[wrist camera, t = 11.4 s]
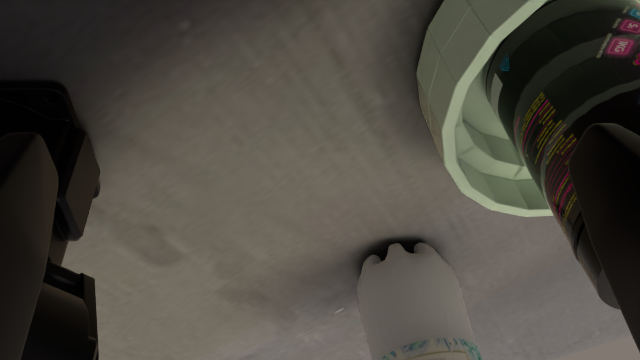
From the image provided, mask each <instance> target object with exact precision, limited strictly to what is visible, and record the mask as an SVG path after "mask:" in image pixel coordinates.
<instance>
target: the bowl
mask: <svg viewBox="0 0 640 360" xmlns="http://www.w3.org/2000/svg"><path fill="white" fill-rule="evenodd" d="M546 1H547V0H444V1H443V3H442V5H441V6H440V8H439V10H438V11H437V13H436V15H435V16H434V18H433V20H432V22H431V23H430V25H429V27H428V30H427V31H426V35H425V39H424V44H423V48H422V52H421V56H420V60H419V64H418V68H417V73H416V76H417V84H418V92H419V100H420V108H421V110H422V113H423V115H424V118H425V120H426V123H427V125H428V127H429V130H430V132H431V135H432V137H433V139H434V142H435V144H436V147H437V149H438V151H439V154H440V156H441V159H442V161H443V163H444V166H445V168H446V169H447V171H448V172H449V174H450V176H451V177H452V179H453V180H454V182H455V183H456V185H457V187H458V188H459V190H460V191H461V192H462V193H463V194H464V195H466V196H468V197H469V198H471V199H472V200H474V201H476V202H477V203H479V204H481V205H482V206H484V207H485V208H487V209H489V210H493V211H498V212H503V213H507V214H512V215H517V216H522V217H523V216H524V217H533V216H554V215H553V213H552V212H551V210H550V208H549V206H548V205H547V203H546V201H545V199H544V198H543V196H542V194H541V193H540V191H539V189H538V187H537V186H536V184H535V182H534V180H533V179H532V177H531V175H530V174H529V172H528V170H527V168H526V167H525V165H524V163H523V161H522V160H521V158H520V156H519V154H518V153H517V151H516V149H515V148H514V146H513V144H512V142H511V141H510V139H509V137H508V135H507V134H506V132H505V130H504V129H503V127H502V125H501V123H500V122H499V120H498V118H497V116H496V115H495V113H494V111H493V110H492V108H491V106H490V104H489V102H488V100H487V97H486V92H485V73H486V68H487V64H488V61H489V58H490V56H491V55H492V53H493V52H494V51H495V49H496V48H497V46H498V45H499V44H500V42H501V41H502V40H503V39H504V38H505V37H507V36H508V35H509V34H510V33H511V32H512V31H513V30H515V29H516V28H517V27H518V26H519V25H520V24H521V23H522V22H524V21H525V20H526V19H527V18H528V17H529V16H530V15H532V14H533V13H534V12H535V11H536V10H537V9H538V8H539V7H541V6H542V5H543V4H544V3H545V2H546ZM636 1H637V2H639V3H640V0H636Z"/></svg>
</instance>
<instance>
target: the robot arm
mask: <svg viewBox="0 0 640 360" xmlns="http://www.w3.org/2000/svg"><path fill="white" fill-rule="evenodd" d="M49 94H54V95H56V96H58V98H53V97H51V96H50V95H49ZM568 171H569V175H570V178H571V181H572V184H573V187H574V190H575V194H576V197H577V200H578V203H579V206H580V209H581V212H582V216H583V219H584V222H585V225H586V228H587V231H588V234H589V237H590V240H591V243H592V245H593V248H594V250H595V253H596V255H597V257H598V260H599V262H600V264H601V266H602V269H603V271H604V273H605V275H606V278H607V280H608V282H609V284H610V287H611V289H612V291H613V293H614V296H615V298H616V300H617V302H618V305H619V307H620V309H621V311H622V314H623V316H624V318H625V320H626V323H627V325H628V327H629V329H630V332H631V334H632V336H633V338H634V341H635V343H636V345H637V347H638V350H639V352H640V136H638V135H637V134H635V133H633V132H631V131H629V130H627V129H625V128H624V127H622V126H620V125H618V124H614V123H596V124H592V125H590V126H589V127H588V128H587V129H586V130H585V132H584V133H583V135H582V137H581V139H580V140H579V142H578V144H577V145H576V147H575V149H574V151H573V152H572V154H571V156H570V158H569V161H568ZM99 174H100V169H99V166H98V163H97V160H96V157H95V154H94V152H93V149H92V146H91V143H90V140H89V137H88V134H87V132H86V131H85V130H84V129H83V128H80V126H79V124H78V121H77V118H76V115H75V112H74V109H73V106H72V103H71V101H70V98H69V95H68V92H67V91H66V89H65V88H64V87H62V86H61V85H59V84H56V83H0V360H98V358H99V352H98V334H97V316H96V297H95V280H94V278H92V277H89V276H87V275H85V274H83V273H81V274H77V273H75V272H73V271H71V270H68V269H66V268H64V267H62V266H61V264H62V261H63V258H64V254H65V251H66V248H67V244H68V241H78V240H79V239H80V238H81V237H82V235H83V232H84V228H85V225H86V221H87V217H88V214H89V210H90V207H91V203H92V199H93V198H96V197H97V196H98V195H99V191H100V184H99V181H98V178H99Z"/></svg>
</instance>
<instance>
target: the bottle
mask: <svg viewBox="0 0 640 360" xmlns="http://www.w3.org/2000/svg"><path fill="white" fill-rule="evenodd" d="M357 297H358V304H359V311H360V314H361V318H362V322H363V326H364V330H365V334H366V337H367V341H368V345H369V348H370V352H371V356H372V360H482V358H481V355H480V352H479V350H478V347H477V344H476V342H475V339H474V336H473V332H472V329H471V325H470V321H469V318H468V314H467V310H466V306H465V302H464V299H463V295H462V292H461V289H460V286H459V283H458V280H457V277H456V275H455V273H454V271H453V268H452V267H451V265H450V264H449V262H448V261H447V260H446V259H445V258H444V257H443V256H441V255H439V254H438V253H437V252H436V251H435V250H434V249H433V248H432V247H431V246H429V245H427V244H425V243H418V244H416V245H415V246H414V253H412V254H411V253H408V252H406V251H405V250H404V248H403V247H402V246H401V244H399V243H395V244H392V245H390V246H389V248H388V254H387V257H386V259H385V260H384V261H382V262H381V260H380V258H379V257H378V256H376V255H371V256H369V257H368V258H367V259H366V260H365V262H364V264H363V267H362V272H361V276H360V277H359V281H358V286H357Z"/></svg>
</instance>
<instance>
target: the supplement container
mask: <svg viewBox="0 0 640 360" xmlns="http://www.w3.org/2000/svg"><path fill="white" fill-rule="evenodd" d="M485 92H486V97H487V100H488V102H489V104H490V106H491V108H492V110H493V111H494V113H495V115H496V116H497V118H498V120H499V122H500V123H501V125H502V127H503V129H504V130H505V132H506V134H507V135H508V137H509V139H510V141H511V142H512V144H513V146H514V148H515V149H516V151H517V153H518V154H519V156H520V158H521V160H522V161H523V163H524V165H525V167H526V168H527V170H528V172H529V174H530V175H531V177H532V179H533V180H534V182H535V184H536V186H537V187H538V189H539V191H540V193H541V194H542V196H543V198H544V199H545V201H546V203H547V205H548V206H549V208H550V210H551V212H552V213H553V215H554V217H555V218H556V220H557V222H558V224H559V225H560V227H561V229H562V231H563V232H564V234H565V236H566V237H567V239H568V241H569V243H570V244H571V248H572V251H573V253H574V255H575V257H576V259H577V260H578V262H579V263H580V264H581V265H582V267H583V269H584V271H585V272H586V274H587V276H588V278H589V279H590V281H591V283H592V285H593V286H594V288H595V290H596V291H597V293H598V295H599V297H600V298H601V299H602V301H604V302H605V303H606V304H608V305H609V306H611V307H614V308H616V309H620V307H619V305H618V302H617V300H616V298H615V296H614V293H613V291H612V289H611V287H610V284H609V282H608V280H607V278H606V275H605V273H604V271H603V269H602V266H601V264H600V262H599V260H598V257H597V255H596V253H595V250H594V248H593V245H592V243H591V240H590V237H589V234H588V231H587V228H586V225H585V222H584V219H583V216H582V212H581V209H580V206H579V203H578V200H577V197H576V194H575V190H574V187H573V184H572V181H571V178H570V175H569V171H568V161H569V158H570V156H571V154H572V152H573V151H574V149H575V147H576V145H577V144H578V142H579V140H580V139H581V137H582V135H583V133H584V132H585V130H586V129H587V128H588V127H589V126H590V125H592V124H596V123H614V124H618V125H620V126H622V127H624V128H625V129H627V130H629V131H631V132H633V133H635V134H637V135H638V136H640V3H639V2H637V1H636V0H547V1H546V2H545V3H544V4H543V5H542V6H541V7H539V8H538V9H537V10H536V11H535V12H534V13H533V14H532V15H530V16H529V17H528V18H527V19H526V20H525V21H524V22H522V23H521V24H520V25H519V26H518V27H517V28H516V29H515V30H513V31H512V32H511V33H510V34H509V35H508V36H507V37H505V38H504V39H503V40H502V41H501V42H500V44H499V45H498V46H497V48H496V49H495V51H494V52H493V53H492V55H491V56H490V58H489V61H488V64H487V68H486V73H485ZM620 310H621V309H620Z"/></svg>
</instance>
